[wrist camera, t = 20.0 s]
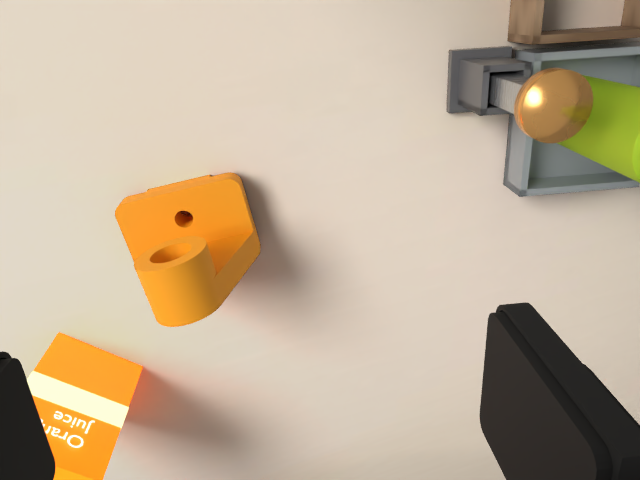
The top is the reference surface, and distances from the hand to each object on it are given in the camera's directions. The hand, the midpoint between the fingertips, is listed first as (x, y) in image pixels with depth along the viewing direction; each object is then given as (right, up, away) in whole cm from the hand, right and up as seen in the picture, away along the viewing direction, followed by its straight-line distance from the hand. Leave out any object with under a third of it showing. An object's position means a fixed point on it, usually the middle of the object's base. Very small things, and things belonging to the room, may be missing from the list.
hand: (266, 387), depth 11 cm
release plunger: (+14, +16, +33) cm, 39 cm away
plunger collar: (+14, +17, +34) cm, 40 cm away
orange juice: (-22, -11, +43) cm, 49 cm away
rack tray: (+23, +14, +36) cm, 45 cm away
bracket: (-10, +5, +37) cm, 39 cm away
